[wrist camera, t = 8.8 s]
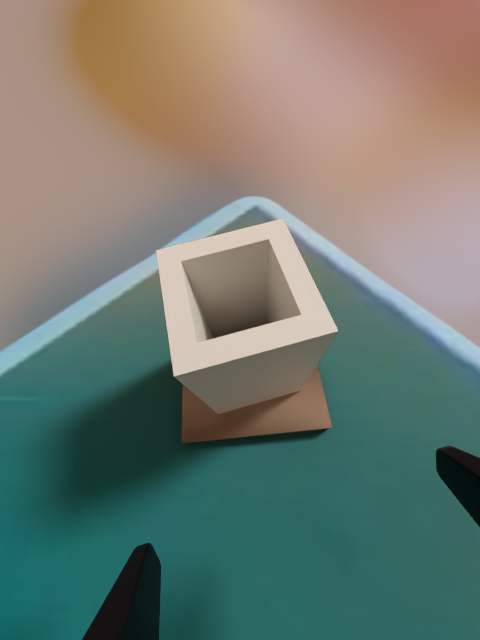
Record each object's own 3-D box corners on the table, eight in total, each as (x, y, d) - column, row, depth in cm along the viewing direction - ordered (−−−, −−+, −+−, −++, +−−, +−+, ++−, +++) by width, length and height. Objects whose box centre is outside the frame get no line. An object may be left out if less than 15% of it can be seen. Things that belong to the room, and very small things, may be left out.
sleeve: (300, 390, 18) (338, 330, 9) (218, 414, 18) (173, 376, 9) (274, 318, 21) (283, 218, 12) (202, 337, 20) (156, 250, 12)
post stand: (328, 428, 18) (345, 423, 14) (185, 443, 18) (166, 441, 14) (300, 304, 22) (307, 277, 19) (186, 318, 23) (172, 293, 19)
